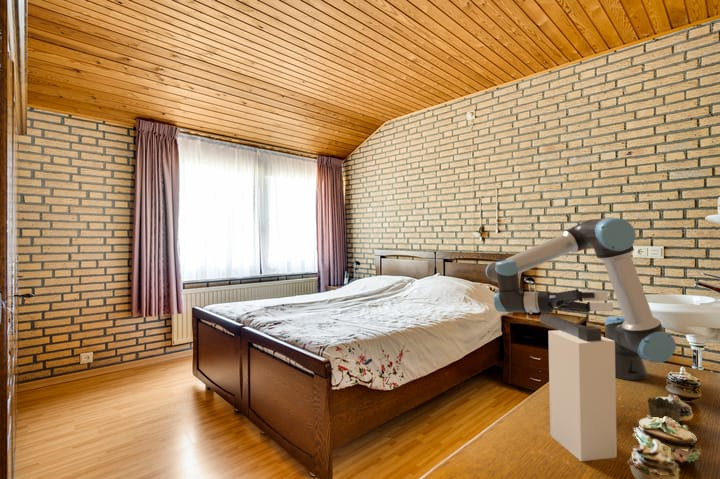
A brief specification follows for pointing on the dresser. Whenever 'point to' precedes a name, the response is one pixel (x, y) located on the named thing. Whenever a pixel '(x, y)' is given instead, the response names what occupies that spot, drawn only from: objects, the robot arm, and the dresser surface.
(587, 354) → the tall cream upright block
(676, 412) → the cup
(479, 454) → the dresser surface
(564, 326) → the dark grey bar
